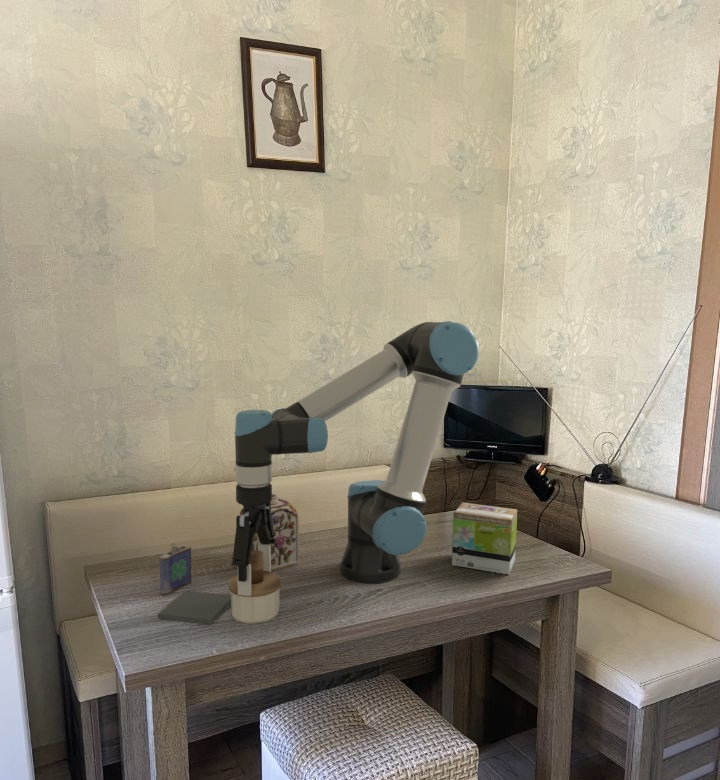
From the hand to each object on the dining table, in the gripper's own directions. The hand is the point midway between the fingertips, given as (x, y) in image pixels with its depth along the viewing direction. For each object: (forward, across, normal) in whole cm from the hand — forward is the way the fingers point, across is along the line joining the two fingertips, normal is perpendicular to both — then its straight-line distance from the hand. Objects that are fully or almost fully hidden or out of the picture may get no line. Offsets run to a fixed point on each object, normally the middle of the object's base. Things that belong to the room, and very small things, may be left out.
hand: (255, 583), depth 135 cm
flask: (+7, -8, -23) cm, 25 cm away
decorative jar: (+7, -28, -7) cm, 30 cm away
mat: (+6, +1, -13) cm, 15 cm away
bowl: (+6, 0, 0) cm, 6 cm away
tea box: (+7, -39, +48) cm, 62 cm away
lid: (0, 0, 0) cm, 0 cm away
